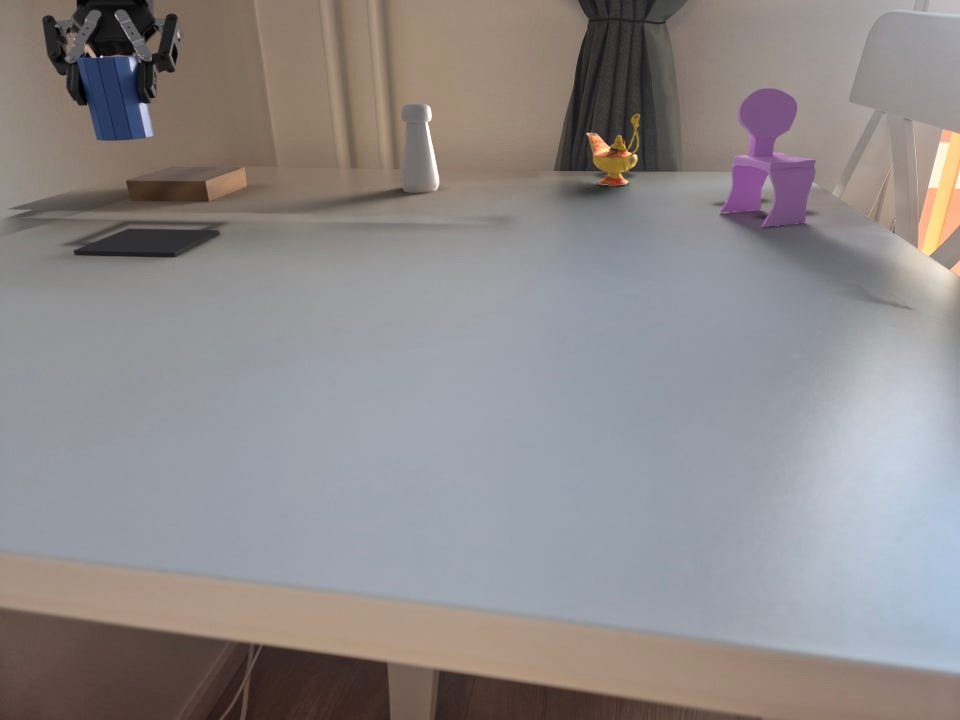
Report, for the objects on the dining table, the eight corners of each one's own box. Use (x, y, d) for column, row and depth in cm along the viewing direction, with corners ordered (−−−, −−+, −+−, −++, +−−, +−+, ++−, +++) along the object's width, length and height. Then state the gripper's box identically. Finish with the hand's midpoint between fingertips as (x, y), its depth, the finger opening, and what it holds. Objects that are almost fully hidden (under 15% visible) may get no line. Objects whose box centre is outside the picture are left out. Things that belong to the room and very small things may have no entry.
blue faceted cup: (85, 141, 72) (64, 58, 68) (118, 134, 77) (100, 57, 73) (134, 140, 71) (115, 57, 68) (164, 134, 76) (147, 56, 73)
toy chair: (758, 229, 80) (779, 92, 73) (712, 214, 87) (727, 89, 81) (815, 223, 82) (840, 89, 76) (765, 208, 89) (784, 86, 83)
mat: (74, 254, 75) (73, 250, 75) (128, 232, 84) (127, 228, 84) (174, 257, 73) (173, 252, 73) (219, 234, 82) (218, 230, 82)
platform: (132, 209, 97) (125, 180, 95) (177, 192, 108) (172, 166, 106) (210, 209, 95) (205, 181, 94) (248, 193, 106) (244, 167, 104)
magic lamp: (604, 171, 118) (608, 104, 113) (655, 190, 102) (662, 112, 98) (567, 174, 116) (570, 106, 112) (614, 193, 101) (619, 114, 96)
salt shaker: (430, 202, 97) (425, 106, 92) (394, 200, 99) (387, 105, 93) (446, 194, 102) (442, 102, 97) (411, 192, 104) (406, 102, 98)
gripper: (30, -52, 71) (18, 74, 66) (174, -52, 74) (174, 70, 68) (62, 8, 78) (54, 126, 73) (193, 6, 81) (194, 120, 75)
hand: (112, 98), depth 71 cm, fingers closed on blue faceted cup, 5 cm apart
